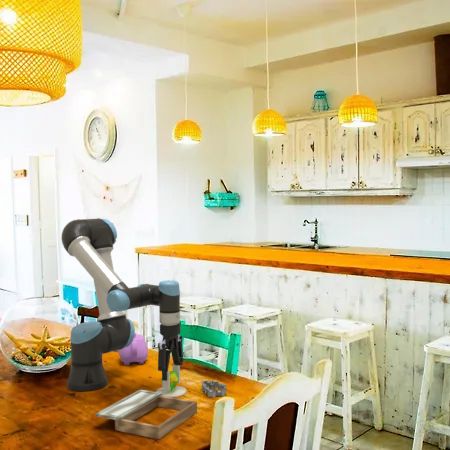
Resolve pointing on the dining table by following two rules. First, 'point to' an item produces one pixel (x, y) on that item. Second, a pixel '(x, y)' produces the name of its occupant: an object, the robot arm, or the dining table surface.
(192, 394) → the dining table surface
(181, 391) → the saucer
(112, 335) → the robot arm
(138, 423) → the cold frame
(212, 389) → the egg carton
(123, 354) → the piggy bank
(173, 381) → the green faceted lump
